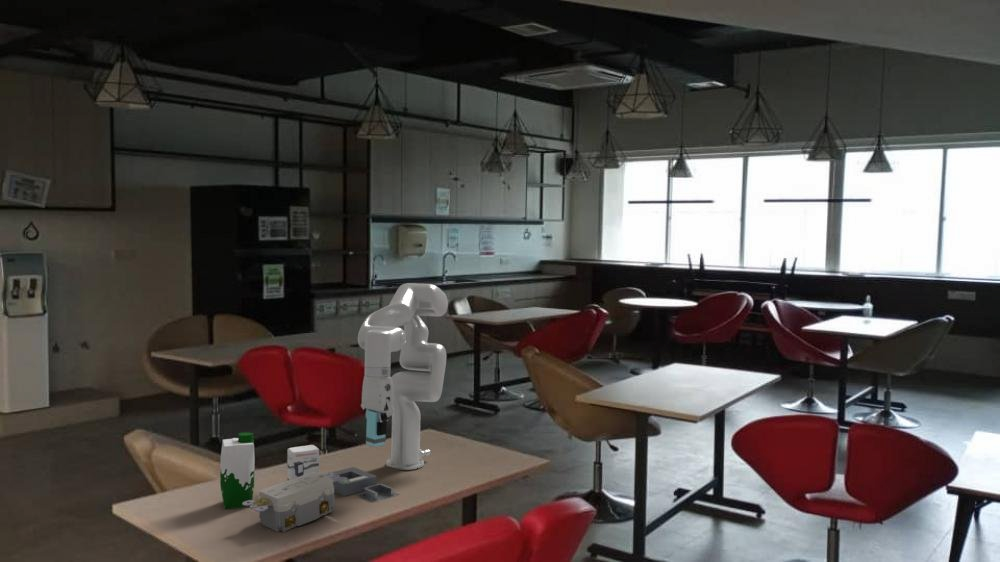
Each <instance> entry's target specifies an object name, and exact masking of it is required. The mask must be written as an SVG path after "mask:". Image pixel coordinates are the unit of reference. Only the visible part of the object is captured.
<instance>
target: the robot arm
mask: <svg viewBox="0 0 1000 562" xmlns="http://www.w3.org/2000/svg"><path fill="white" fill-rule="evenodd" d="M448 307H449V301H448V296H447V295H446V293H445V292H444V291H443V290H442V289H441V288H440V287H438V286H437V285H435V284H432V283H417V282H414V283H413V282H407V283H403V284H401V285H400V286H399V287H398V288H397V290H396V292H395V293H394V295H393V297H392V298H391V300H390V302H389V305H386V306H384V307H382V308H379V309H378V310H376V311H373V312H372V313H369V315H367V317H366V318H365V319H364V321H363V323H362V324H361V326H360V328H359V331H358V333H357V334H358V335H357V342H358V345H359V347H360V348H361V349H362V350H364V376H363V381H362V390H361V404H360V407H361V409H362V410H363V411H364V412H363V413H364V414H365V419H366V420H367V410H373V411H377V412H378V421H379V422H377V435H378V436H380V435H384V434H386V435H387V427H388V425H387V422H388V421H389V418H391V447H390V448H391V449H390V450H391V452H390V454H391V455H390V458H389V459H387V460H386V467H388V468H389V467H390V468H393V469H396V470H399V471H410V470H411V471H412V470H417V468H418V469H420V468H422V467H423V466H424V465H425V461H424V459H423V457H426V456H431V450H430V449H424V450H423V449H421V419H422V418H421V411H420V408H419V407H418V405H417V403H416V402H421V403H422V402H423V403H435V402H438V401H439V400H440V398H441V396H442V392H443V388H444V387H443V386H444V380H445V374H446V373H445V372H446V366H447V350H446V348H445V346H444V345H442V344H441V343H434V342H428V340H429V329H428V326H427V325H426V323H425V322H424V321H423V320H422V318H421V317H420V316H424V317H442V316H444V315H445V314H446V313H447V310H448ZM401 327H403V328H401ZM399 351H400V353H399V365H400V366H401V368H403V369H406V370H409V371H399V372H396V373H394V374H393V375H392V376H391V370H392V369H391V366H392V363H391V362H392V361H391V359H392V357H391V355H392V353H394V352H399ZM415 371H416V372H415ZM417 371H420V372H417ZM421 371H423V372H421ZM382 413H384V415H383V416H382Z"/></svg>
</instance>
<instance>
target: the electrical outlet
mask: <svg viewBox="0 0 1000 562" xmlns="http://www.w3.org/2000/svg"><path fill="white" fill-rule="evenodd" d="M332 472H333V471H331V472H329V471H327V472H326V473H323V474H324V475H323V474H322V473H320V472H319V473H317V472H312V473H309V474H306V475H303V476H300V477H297V478H294V479H291V480H288V481H287V480H285V481H283V482H280V483H278V484H274V485H272V486H268V487H265V488H262V489H260V490H259V491H258V492H259V496H258V499H257V500H253V499H252V500H248V501H245V502H243V503H242V505H244V506H250V507H249V508H250V509H254V511H255V512H257V513H258V514H259V515H258V516H259V519H260V524H261V525H262V526H264V527H267V528H269V529H271V530H273V531H275V532H283V533H285V532H286V531H288V530H291V529H294V528H296V527H300V526H304V525H305V524H308V523H311V522H312V521H315V520H317V519H319V518H320V517H323V516H325V515H328V514H332V512H333V511H334V510H335V507H336V506H335V505H336V504H335V503H336V502H335V500H336V499H335V492H334V485H333V482H335V481H338V482H344V481H346V480H347V479H348V478H346V477H340V475H334V474H335V473H332ZM328 474H330V475H328ZM341 479H343V480H341Z"/></svg>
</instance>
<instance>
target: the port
mask: <svg viewBox="0 0 1000 562" xmlns="http://www.w3.org/2000/svg"><path fill="white" fill-rule="evenodd" d="M331 472H332V473H335V474H334V475H340V477H346V478H348V479H347V480H346V481H344V482H338V481H335V482H333V485H334V494H338V495H340V496H342V497H346V496H349V495H350V496H351V495H353V494H357V493H361V492H363V488H365V487H368V486H372V485H376V484H378V482H377V481H378V476H377V475H375V474H373V473H370V472H368V471H364V470H363V469H360V468H357V467H355V466H353V467H349V468H344V469H340V470H336V471H331ZM324 474H325V473H323V474H322V475H324ZM328 475H330V474H328ZM341 480H343V479H341Z"/></svg>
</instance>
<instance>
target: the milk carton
mask: <svg viewBox="0 0 1000 562" xmlns="http://www.w3.org/2000/svg"><path fill="white" fill-rule="evenodd" d="M237 435H238V436H237V437H233V438H226V439H222V444H221V450H220V451H221V452H220V467H219V468H220V472H219V473H220V481H219V483H220V491H221V496H222V501H223V505H224V510H231V509H238V508H239V509H240V508H248V507H249V508H250V506H244V505H242V503H243V502H245V501H248V500H253V498H254V489H255V444H254V443H255V440H254V433H253V432H251V431H243V432H239V433H238V434H237Z"/></svg>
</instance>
